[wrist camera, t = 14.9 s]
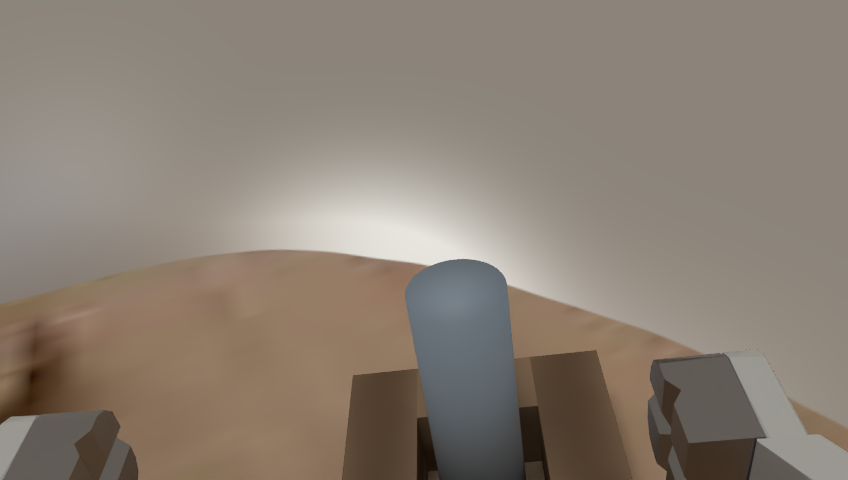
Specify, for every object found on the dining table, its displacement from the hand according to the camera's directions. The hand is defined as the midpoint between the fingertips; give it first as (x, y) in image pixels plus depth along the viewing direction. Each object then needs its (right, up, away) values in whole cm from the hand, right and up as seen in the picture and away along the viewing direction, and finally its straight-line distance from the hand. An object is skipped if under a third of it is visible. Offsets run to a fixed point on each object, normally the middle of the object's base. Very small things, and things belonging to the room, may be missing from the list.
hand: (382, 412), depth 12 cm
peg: (+4, -11, +26) cm, 29 cm away
